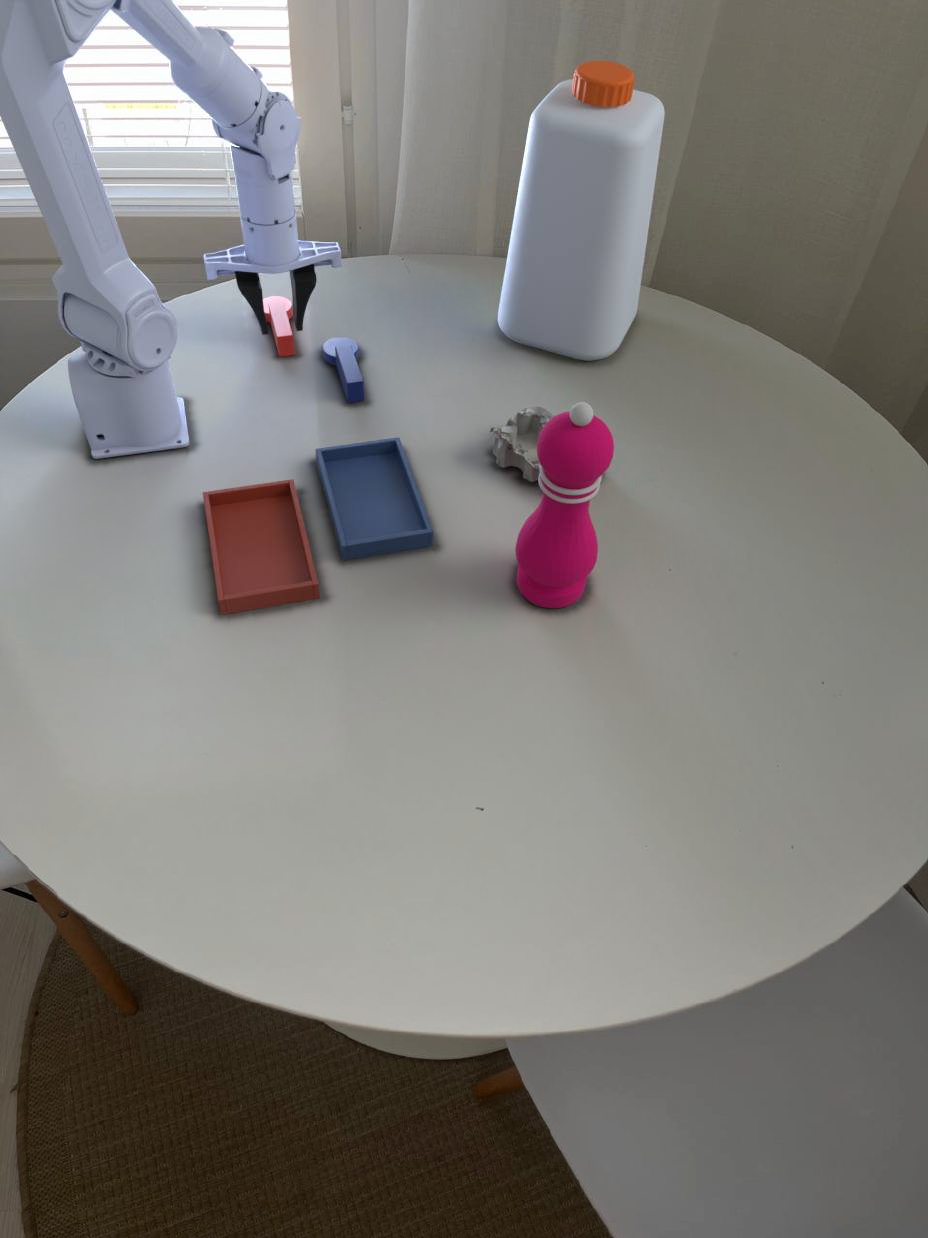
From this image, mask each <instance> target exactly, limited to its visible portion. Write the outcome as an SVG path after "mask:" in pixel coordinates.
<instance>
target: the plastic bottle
mask: <svg viewBox="0 0 928 1238" xmlns="http://www.w3.org/2000/svg"><path fill="white" fill-rule="evenodd" d="M635 82H636V77H635V74H634V72H633V71H632V69H630V68H629V67H628V66H626V65H623V64H621V63H618V62H614V61H607V60H590V61H585V62H583V63H581V64H580V65H578V66H577V67H576V68H575V70H574V72H573V77H572V78H570V79H566V80H563V81H561V82H559V83H557V85H555V87H553V88H552V89H551V90H550V92H549V93H548V94H546V96H544V98H543V99H542V100H541V101H540V103H539V104H538V105H537V106H536V107H535V109H534V110H533V111H532V113H531V115H530V117H529V124H528V129H527V135H526V141H525V147H524V154H523V160H522V165H521V172H520V177H519V184H518V190H517V191H518V192H517V196H516V202H515V208H514V214H513V220H512V227H511V233H510V239H509V245H508V249H507V250H508V251H507V256H506V262H505V263H506V264H505V269H504V274H503V280H502V281H503V282H502V286H501V294H500V300H499V304H498V305H499V306H498V310H497V311H498V312H497V325H498V326H499V328H500V331H501V332H502V334H504V335H505V337H507V338H508V339H510V340H512V341H513V342H515V343H518V344H521V345H524V346H529V347H532V348H535V349H539V350H541V351H542V350H543V351H546V352H549V353H552V354H557V355H561V356H564V357H567V358H572V359H574V360H575V359H576V360H579V361H587V362H588V361H598V360H602V359H606V358H608V357H610V356H612V355H613V354H614V353H615V352H616V351H617V350H618V349H619V348H620V346H621V344H622V342H623V340H624V338H625V336H626V334H627V333H628V331H629V329H630V327H631V325H632V323H633V322H634V320H635V318H636V316H637V312H638V305H639V299H640V293H641V285H642V278H643V272H644V271H643V270H644V265H645V259H646V258H645V257H646V249H647V242H648V237H649V236H648V235H649V229H650V222H651V215H652V207H653V201H654V193H655V186H656V180H657V171H658V165H659V158H660V151H661V143H662V135H663V130H664V122H665V117H666V116H665V115H666V112H665V107H664V104H663V102H662V101H661V99H660V98H658V97H656V96H655V95H653V94H652V93H648V92H645V91H642V90H641V91H640V90H637V89H634V86H635Z"/></svg>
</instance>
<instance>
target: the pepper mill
mask: <svg viewBox="0 0 928 1238" xmlns="http://www.w3.org/2000/svg"><path fill="white" fill-rule="evenodd" d="M614 451H615V442H614V437H613V434H612V432H611V430H610V428H609V427H608V425H607V424H606V422H605V421H603V420H602V419H601V418H599V417H598V416H596V415H595V414H594V410H593V408H592V406H591V405H590V404H589V403H587V402H584V401H580V402H577V403H575V404H574V405H573V406H572V407H571V408H570V410H568V411H564V412H561V413H558V414H555V415H554V417H553V418H551V419H550V420H549V421H548V422H547V423H546V424H545V426H544V427H543V429H542V430H541V432H540V435H539V438H538V442H537V456H538V459H539V462H540V464H541V466H540V474H539V477H538V480H537V481H538V486H539V488H540V490H541V491H542V495H541V501H540V502H539V504H538V506H537V507H536V508H535V510H533V512H532V513H531V514H530V516H529V517H527V519H526V520H525V522H524V523H523V524H522V527H521V528H520V529H519V531H518V534H517V539H516V542H515V547H514V549H515V550H514V552H515V558H516V561H517V564H518V565H517V566H518V567H517V572H516V585H517V588H518V590H519V592H520V594H521V595H522V596H523V598H525V599H526V600H528V602H530V603H532V604H534V605H536V606H538V607H543V608H545V609H560V608H566V607H569V606H571V605H573V604H575V603H576V602H577V601H578V600H579V599H580V598H581V597H582V596H583V594H584V592H585V588H586V583H587V580H588V579H587V578H588V576H589V575H590V574H591V573H592V572H593V570H594V568H595V566H596V564H597V561H598V553H599V552H598V551H599V544H598V543H599V542H598V538H597V537H598V536H597V531H596V530H595V527H594V523H593V521H592V519H591V515H590V501H591V500H592V499H593V498H594V497H596V496H597V494H598V493H599V491H600V487H601V482H602V478H603V475H604V473H606V471H607V470H608V469H609V468H610V466H611V464H612V460H613V458H614Z"/></svg>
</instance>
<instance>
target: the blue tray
mask: <svg viewBox="0 0 928 1238" xmlns="http://www.w3.org/2000/svg"><path fill="white" fill-rule="evenodd" d="M315 459H316V465H317V470H318V473H319V478H320V481H321V484H322V489H323V492H324V495H325V500H326V504H327V507H328V511H329V514H330V518H331V522H332V527H333V530H334V533H335V537H336V541H337V545H338V548H339V552H340V556H341V560H342V562H344V561H350V560H351V561H352V560H357V559H362V558H363V559H364V558H368V557H369V558H370V557H375V556H382V555H387V554H394V553H399V552H404V551H411V550H416V549H422V548H429V547H433V546H434V529H433V527H432V524H431V521H430V519H429V516H428V513H427V510H426V508H425V505H424V502H423V499H422V497H421V493H420V491H419V488H418V485H417V483H416V480H415V477H414V475H413V471H412V469H411V466H410V463H409V460H408V458H407V454H406V452H405V450H404V447H403V444H402V441H401V438H400V437H399V436H397V437H391V438H383V439H376V440H368V441H362V442H355V443H354V442H353V443H347V444H346V443H345V444H339V445H332V446H325V447H318V448H315Z"/></svg>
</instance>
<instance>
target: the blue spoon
mask: <svg viewBox="0 0 928 1238" xmlns="http://www.w3.org/2000/svg"><path fill="white" fill-rule="evenodd" d="M322 351H323V353H322V354H323V359H324V361H325V362H326V363H328V364H329V365H332V366H336V368H337V372H338V375H339V379H340V381H341V385H342V388H343V391H344V394H345V397H346V401H347V403H348V404H350V403H359V402H364V401H365V381H364V378H363V376H362V371H361V370H360V366H359V363H358V360H359V356H360V353H359V352H360V351H359V344H358V342H357V341H356V340H354V339H352V338H349V337H346V336H337V337H331V338H329V339H328V340H326V341H325V342H324V343H323V345H322Z"/></svg>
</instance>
